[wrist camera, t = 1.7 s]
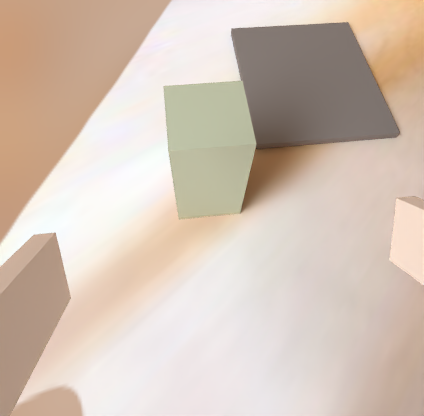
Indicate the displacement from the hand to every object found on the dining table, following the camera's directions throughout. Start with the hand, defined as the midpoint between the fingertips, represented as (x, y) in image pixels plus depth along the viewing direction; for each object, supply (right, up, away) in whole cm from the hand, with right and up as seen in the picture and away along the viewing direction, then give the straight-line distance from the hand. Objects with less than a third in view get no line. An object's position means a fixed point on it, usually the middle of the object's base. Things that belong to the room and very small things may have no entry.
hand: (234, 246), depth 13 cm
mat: (+11, +17, +28) cm, 35 cm away
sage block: (-1, +3, +21) cm, 21 cm away
